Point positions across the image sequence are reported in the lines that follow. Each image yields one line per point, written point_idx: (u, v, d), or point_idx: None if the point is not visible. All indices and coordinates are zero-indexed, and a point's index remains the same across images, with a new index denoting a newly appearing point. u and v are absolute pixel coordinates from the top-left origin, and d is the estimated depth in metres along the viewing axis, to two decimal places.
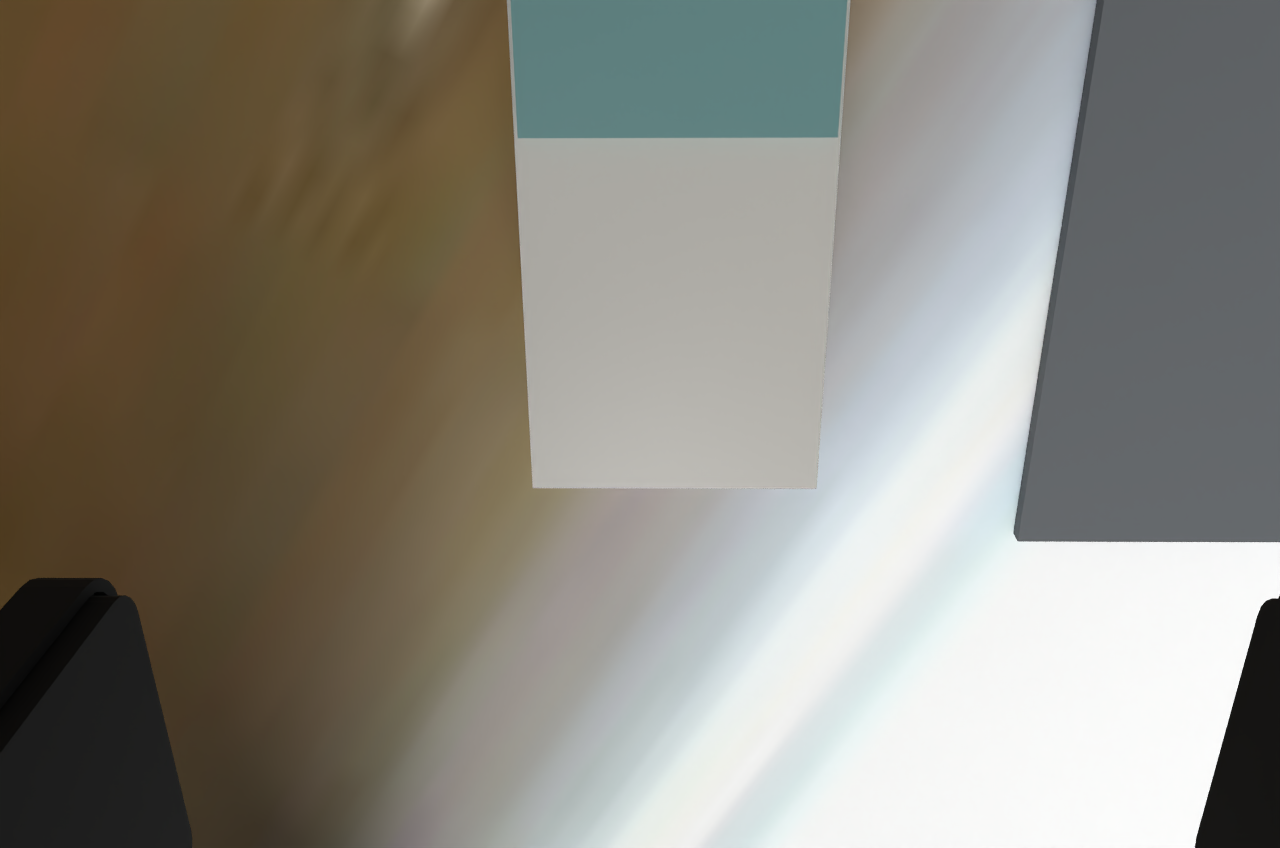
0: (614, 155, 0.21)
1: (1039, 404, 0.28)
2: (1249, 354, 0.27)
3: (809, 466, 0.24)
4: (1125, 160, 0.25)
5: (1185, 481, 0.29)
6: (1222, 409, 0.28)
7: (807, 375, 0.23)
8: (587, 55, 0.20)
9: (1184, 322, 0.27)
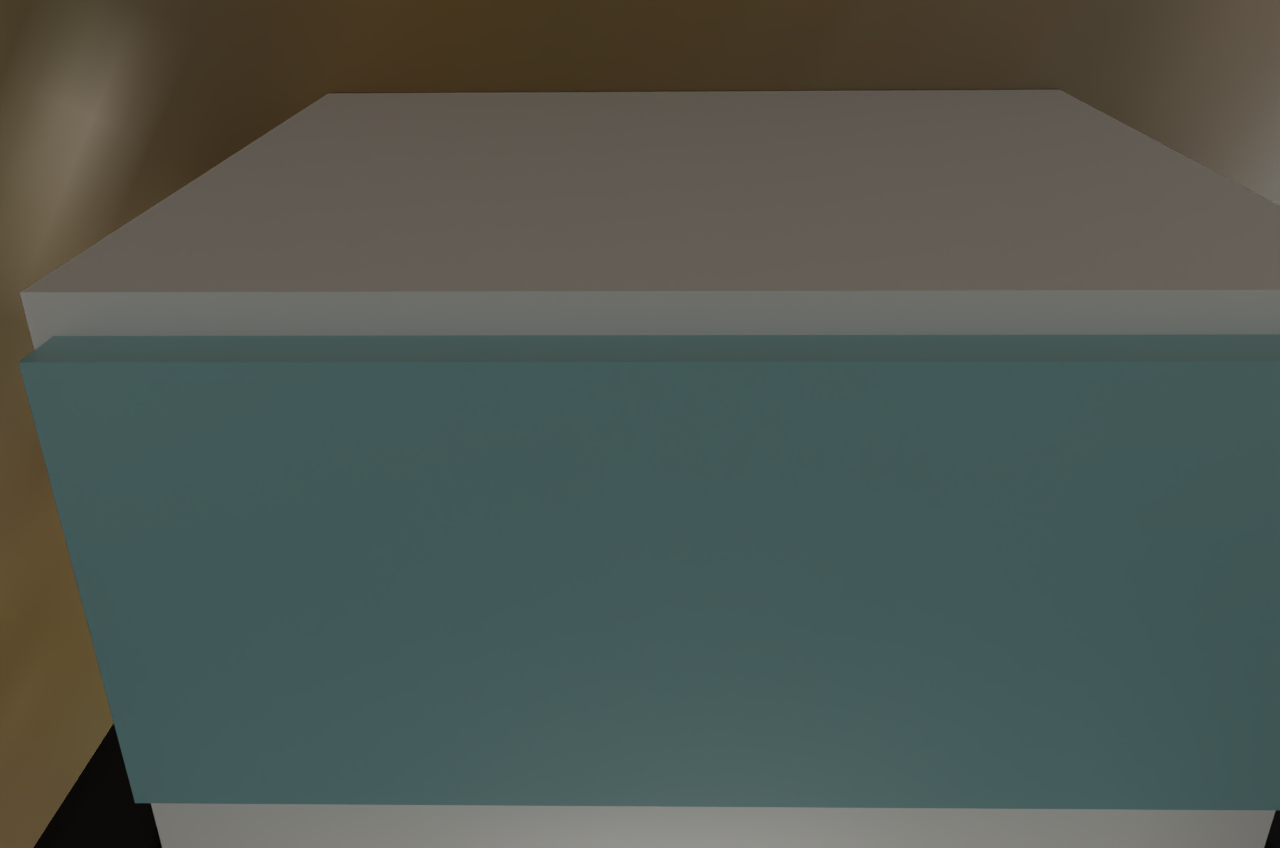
0: (493, 817, 0.06)
1: None
2: None
3: None
4: None
5: None
6: None
7: None
8: (361, 561, 0.05)
9: None
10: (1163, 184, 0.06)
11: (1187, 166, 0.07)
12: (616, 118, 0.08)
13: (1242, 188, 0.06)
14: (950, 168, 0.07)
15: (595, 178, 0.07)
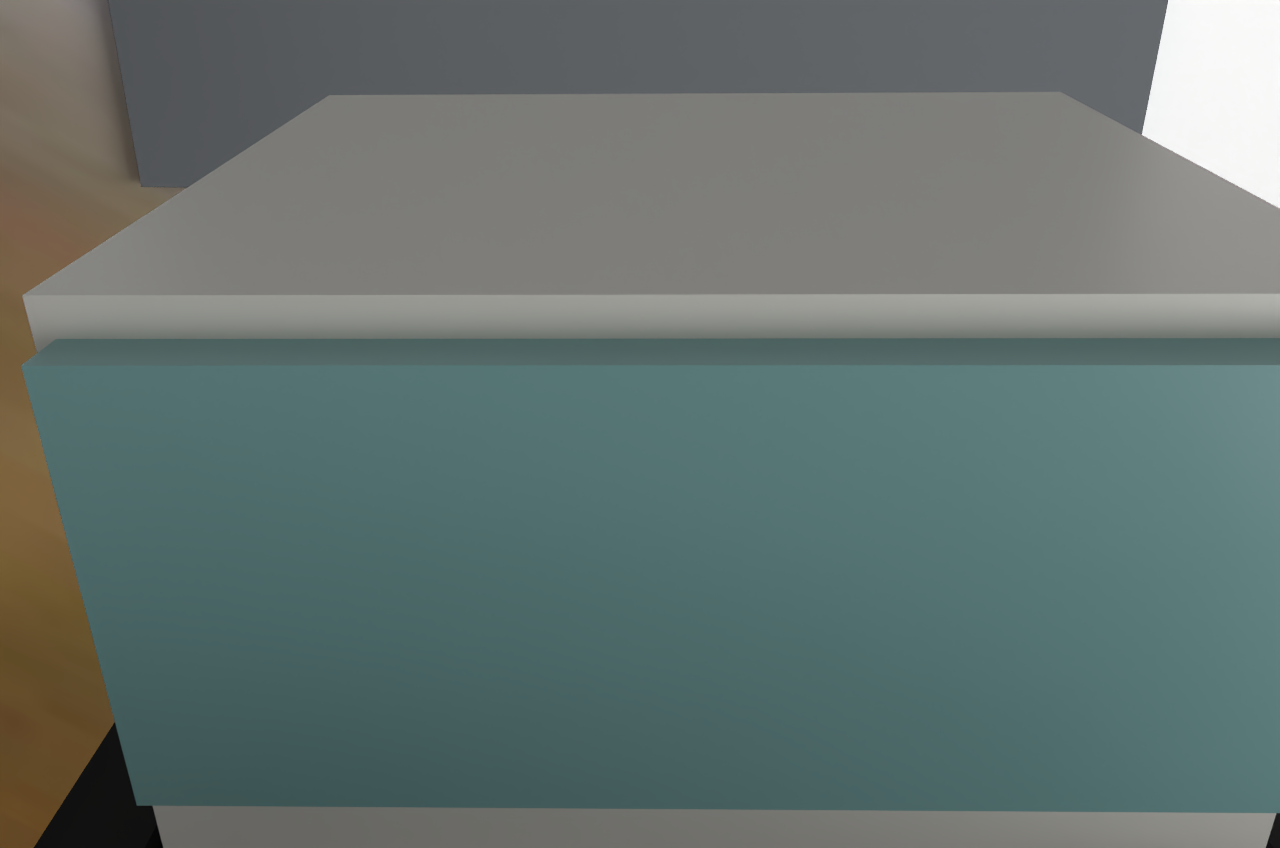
0: (495, 820, 0.06)
1: None
2: None
3: None
4: None
5: (1082, 30, 0.26)
6: (997, 5, 0.26)
7: None
8: (363, 564, 0.05)
9: (889, 67, 0.26)
10: (1164, 187, 0.06)
11: (1188, 169, 0.07)
12: (617, 120, 0.08)
13: (1245, 190, 0.06)
14: (951, 168, 0.07)
15: (597, 182, 0.07)
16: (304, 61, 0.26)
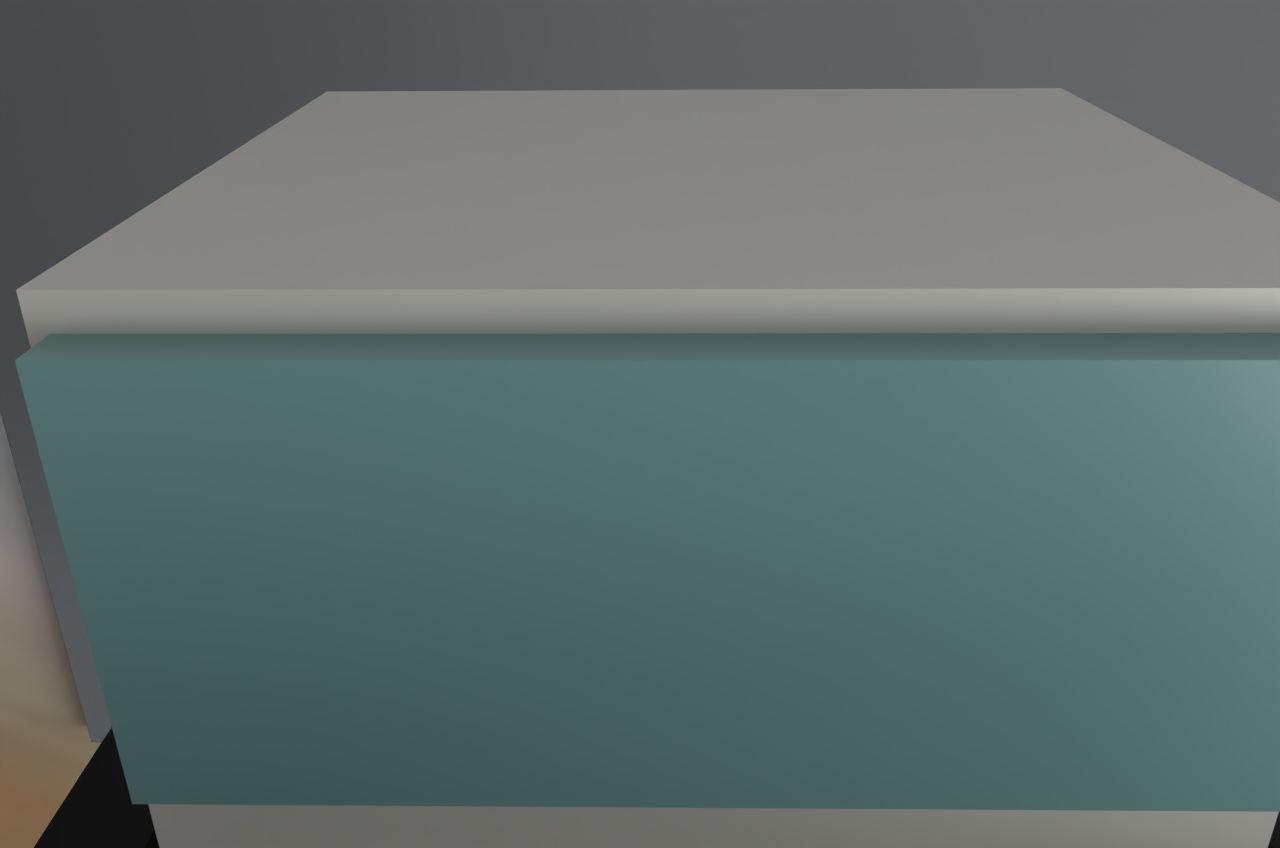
0: (492, 819, 0.06)
1: None
2: None
3: None
4: None
5: None
6: None
7: None
8: (359, 561, 0.05)
9: None
10: (1166, 182, 0.06)
11: (1190, 164, 0.07)
12: (616, 116, 0.08)
13: (1247, 187, 0.06)
14: (951, 167, 0.07)
15: (595, 177, 0.07)
16: None
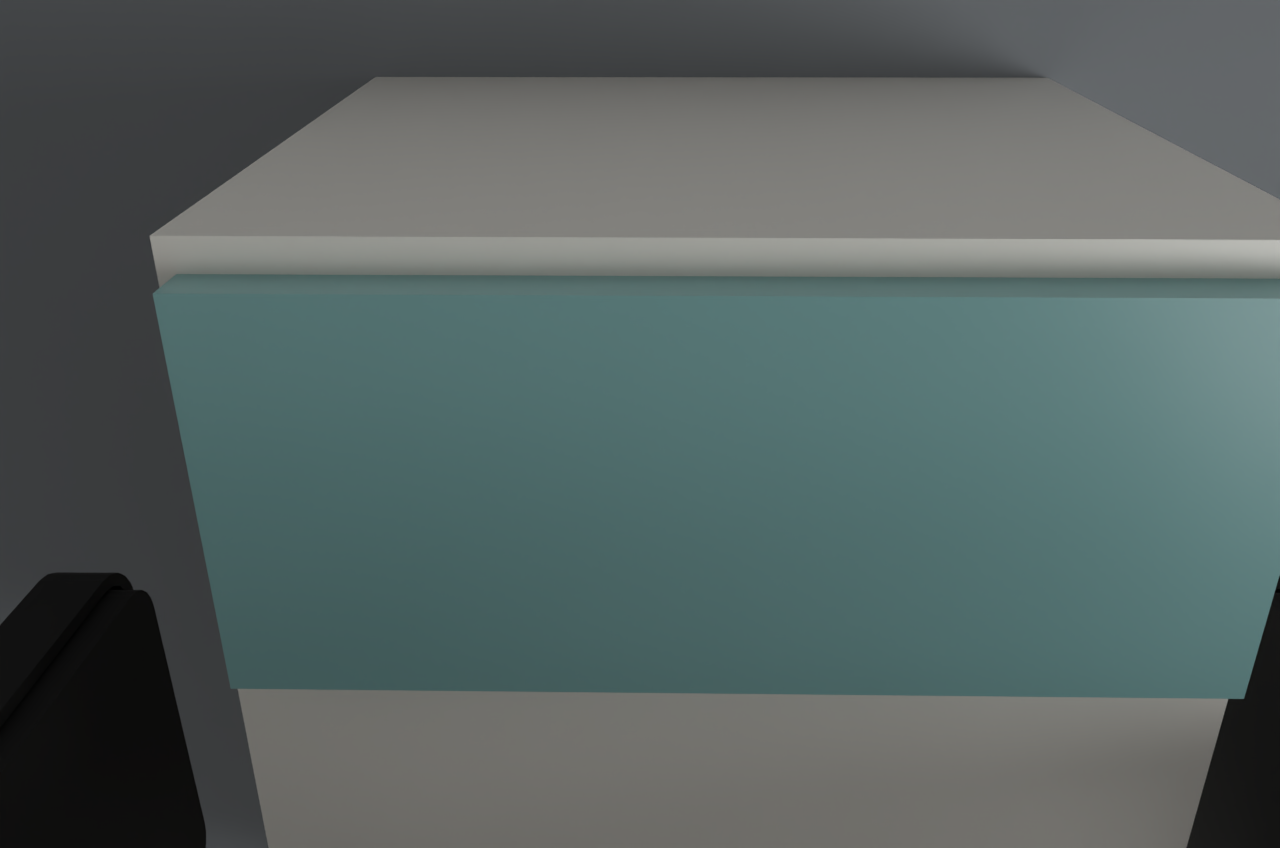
0: (540, 711, 0.07)
1: None
2: None
3: None
4: None
5: None
6: None
7: None
8: (437, 470, 0.06)
9: None
10: (1134, 157, 0.07)
11: (1157, 142, 0.08)
12: (643, 99, 0.09)
13: (1203, 160, 0.07)
14: (946, 141, 0.08)
15: (632, 149, 0.07)
16: None
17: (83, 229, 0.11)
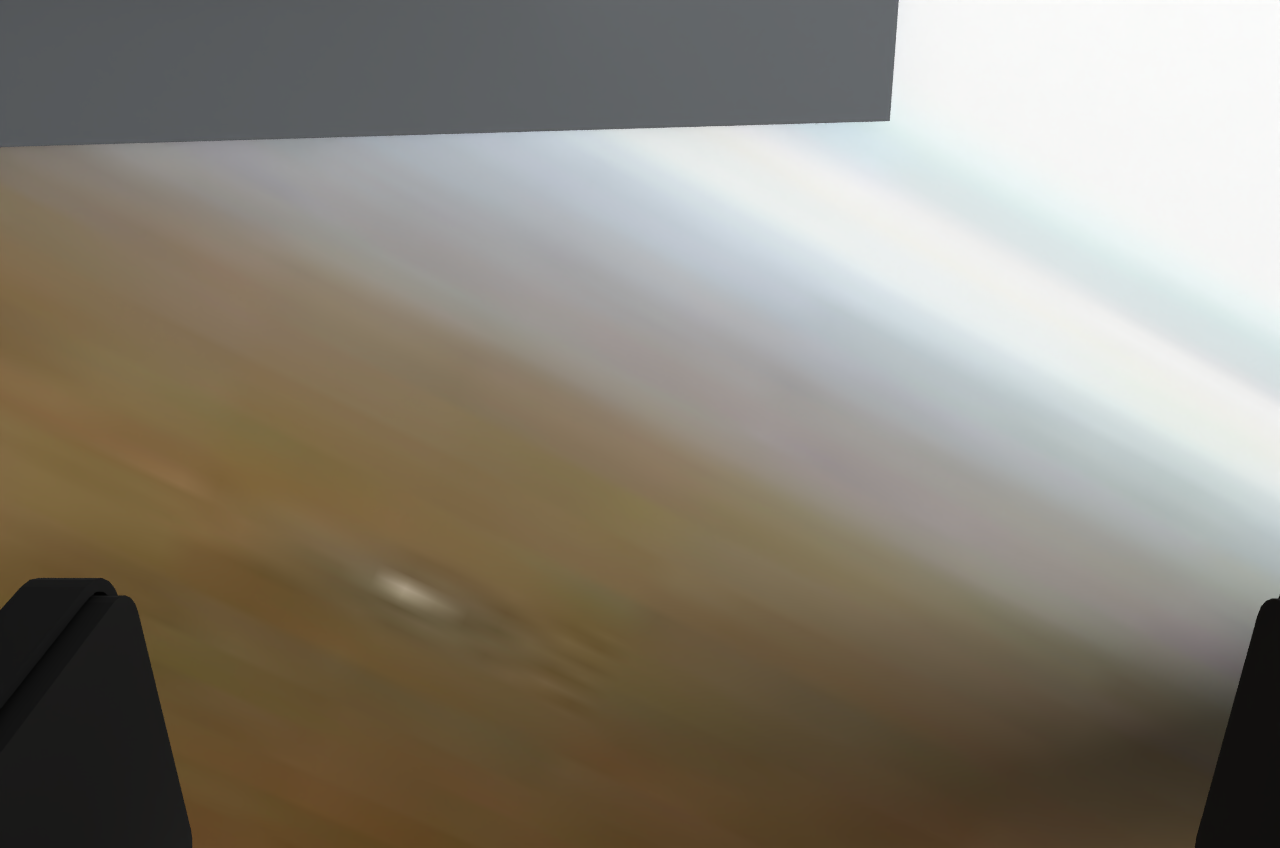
0: None
1: (733, 125, 0.28)
2: None
3: None
4: (490, 89, 0.28)
5: None
6: None
7: None
8: None
9: None
10: None
11: None
12: None
13: None
14: None
15: None
16: (71, 16, 0.27)
17: None
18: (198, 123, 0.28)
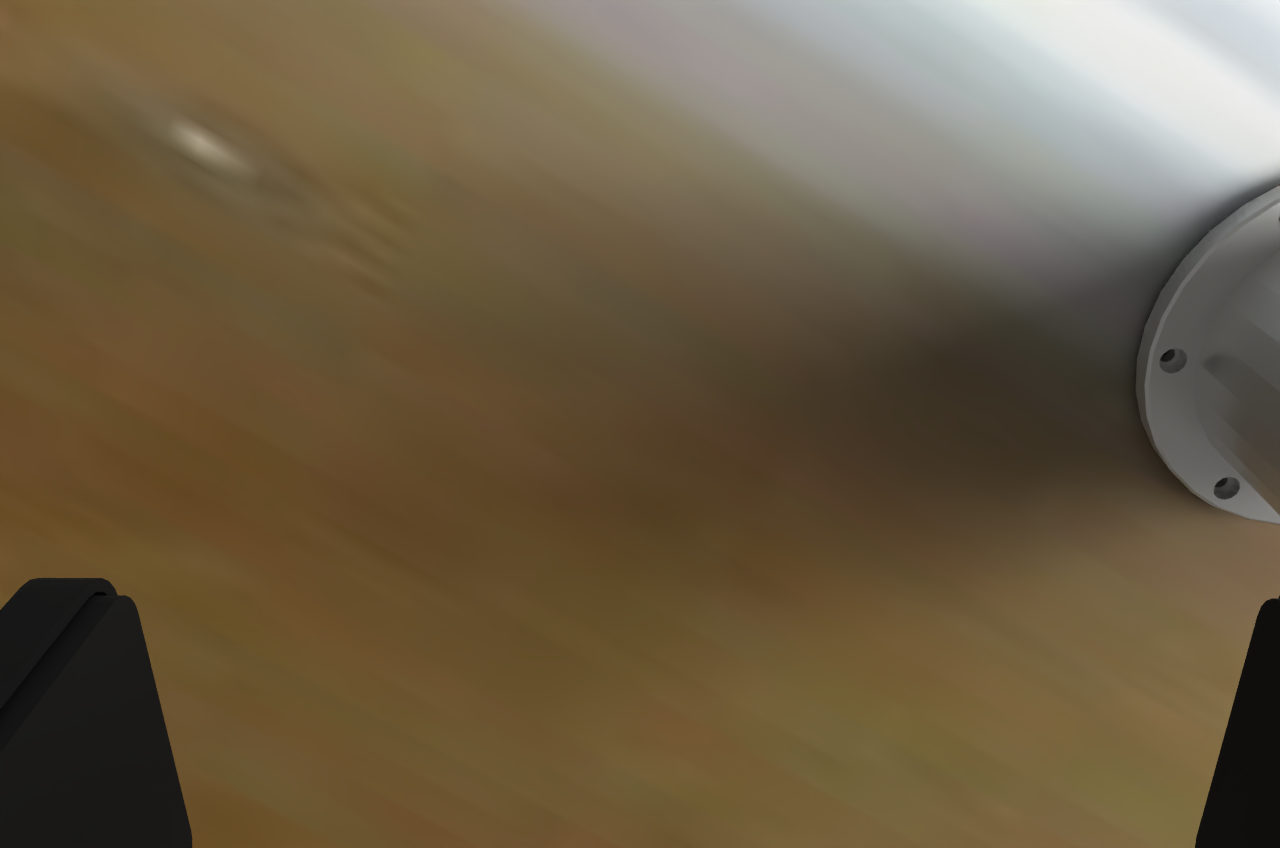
0: None
1: None
2: None
3: None
4: None
5: None
6: None
7: None
8: None
9: None
10: None
11: None
12: None
13: None
14: None
15: None
16: None
17: None
18: None
